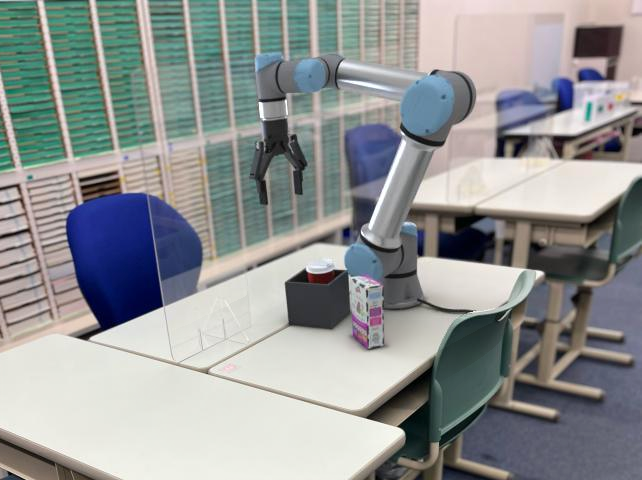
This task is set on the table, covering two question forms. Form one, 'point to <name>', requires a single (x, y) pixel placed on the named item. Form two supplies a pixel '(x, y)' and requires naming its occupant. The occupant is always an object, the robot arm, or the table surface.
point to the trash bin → (317, 300)
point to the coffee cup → (320, 271)
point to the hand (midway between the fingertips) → (281, 199)
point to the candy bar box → (367, 311)
